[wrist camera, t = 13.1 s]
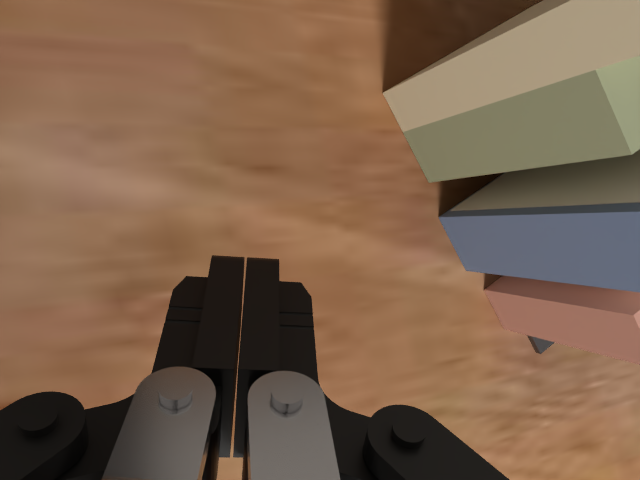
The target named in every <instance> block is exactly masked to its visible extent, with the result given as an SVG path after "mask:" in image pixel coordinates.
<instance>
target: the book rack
mask: <svg viewBox="0 0 640 480" xmlns="http://www.w3.org/2000/svg"><path fill="white" fill-rule="evenodd" d="M383 94H384V96H385V98H386V100H387V102H388V104H389V106H390V108H391V110H392V112H393V114H394V116H395V118H396V120H397V122H398V124H399V126H400V128H401V129H402V131H403V133H404V135H405V137H406V139H407V141H408V143H409V145H410V147H411V149H412V151H413V153H414V155H415V157H416V159H417V161H418V163H419V164H420V166H421V168H422V170H423V172H424V174H425V176H426V178H427V180H428V182H429V183H430V182H437V181H445V180H452V179H459V178H466V177H474V176H481V175H488V174H496V173H503V172H510V171H517V170H525V169H532V168H539V167H546V166H554V165H561V164H568V163H576V162H583V161H590V160H597V159H605V158H612V157H619V156H627V155H632V154H634V153H635V152H637V151H638V150H639V149H640V0H543V1H541V2H539V3H537V4H536V5H534V6H532V7H530V8H528V9H526V10H525V11H523V12H521V13H519V14H518V15H516V16H514V17H512V18H511V19H509V20H507V21H506V22H504V23H502V24H500V25H499V26H497V27H495V28H494V29H492V30H490V31H488V32H487V33H485V34H483V35H481V36H480V37H478V38H476V39H475V40H473V41H471V42H469V43H468V44H466V45H464V46H463V47H461V48H459V49H457V50H456V51H454V52H452V53H450V54H449V55H447V56H445V57H444V58H442V59H440V60H438V61H437V62H435V63H433V64H432V65H430V66H428V67H426V68H425V69H423V70H421V71H419V72H418V73H416V74H414V75H413V76H411V77H409V78H407V79H406V80H404V81H402V82H401V83H399V84H397V85H395V86H394V87H392V88H390V89H388V90H387V91H385V92H383ZM484 291H485V293H486V295H487V297H488V299H489V301H490V303H491V305H492V306H493V308H494V310H495V312H496V314H497V316H498V318H499V320H500V322H501V324H502V326H503V328H504V329H506V330H510V331H513V332H517V333H521V334H525V335H529V336H532V337H536V338H540V339H544V340H548V341H552V342H555V343H559V344H563V345H567V346H571V347H574V348H578V349H582V350H586V351H590V352H593V353H597V354H601V355H605V356H609V357H613V358H616V359H620V360H624V361H628V362H632V363H635V364H639V365H640V292H632V291H624V290H616V289H608V288H600V287H592V286H584V285H576V284H568V283H560V282H552V281H544V280H536V279H528V278H520V277H512V276H504V275H503V276H502V277H500V278H499V279H498V280H496V281H495V282H494V283H492V284H491V285H490V286H488V287H487V288H486V289H484Z"/></svg>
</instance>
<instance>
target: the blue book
mask: <svg viewBox="0 0 640 480" xmlns="http://www.w3.org/2000/svg"><path fill="white" fill-rule="evenodd" d="M439 219H440V221H441V223H442V225H443V227H444V229H445V231H446V233H447V235H448V237H449V239H450V241H451V243H452V245H453V246H454V248H455V250H456V252H457V254H458V256H459V258H460V260H461V262H462V264H463V266H464V268H465V270H466V271H472V272H480V273H488V274H496V275H504V276H512V277H520V278H528V279H536V280H544V281H552V282H560V283H568V284H576V285H584V286H592V287H600V288H608V289H616V290H624V291H632V292H640V149H639V150H638V151H637V152H635V153H634V154H632V155H627V156H619V157H612V158H605V159H597V160H590V161H583V162H576V163H568V164H561V165H554V166H546V167H539V168H532V169H525V170H517V171H510V172H504V173H503V174H501V175H500V176H498V177H497V178H495V179H494V180H492V181H491V182H490V183H488V184H487V185H485V186H484V187H482V188H481V189H479V190H478V191H476V192H475V193H473V194H472V195H470V196H469V197H467V198H466V199H464V200H463V201H462V202H460V203H459V204H457V205H456V206H454V207H453V208H451V209H450V210H448V211H447V212H445V213H444V214H442V215H441V216H439Z"/></svg>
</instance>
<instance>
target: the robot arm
mask: <svg viewBox="0 0 640 480" xmlns="http://www.w3.org/2000/svg"><path fill="white" fill-rule="evenodd" d="M243 276H244V257H231V256H214V255H212V258H211V263H210V269H209V275H208V277H192V276H186V277H185V278H184V279H183V280H182V281H181V282H180V283H179V284H178V285H177V286H176V287H175V288H174V289H173V292H172V296H171V300H170V304H169V309H168V312H167V316H166V320H165V323H164V327H163V331H162V335H161V339H160V343H159V347H158V351H157V354H156V358H155V362H154V366H153V370H152V373H151V374H150V375H149V376H147V377H146V378H145V379H144V380H143V381H142V382H141V383H140V384H139V386H138V387H137V389H136V392H135V394H133V395H132V396H130V397H128V398H126V399H124V400H121V401H119V402H116V403H112V404H108V405H103V406H99V407H94V408H90V409H85V410H84V407H83V406H82V404H81V403H80V402H79V401H78V400H77V399H76V398H74V397H73V396H71V395H68V394H65V393H61V392H41V393H36V394H32V395H29V396H26V397H24V398H21V399H19V400H17V401H15V402H14V403H12V404H10V405H9V406H7V407H5V408H4V409H2V410H0V480H216V478H217V471H218V461H219V457H230V449H231V437H232V425H233V413H234V401H235V389H236V377H237V365H238V353H239V341H240V328H241V312H242V294H243ZM312 315H313V312H312V299H311V296H310V295H309V293H308V292H307V290H306V289H305V288H304V286H303V285H302V283H300V282H282V281H279V259H265V258H249V257H247V267H246V279H245V291H244V304H243V316H242V328H241V341H240V353H239V365H238V381H237V399H236V417H235V435H234V453H233V457H243V470H242V480H509V479H508V478H507V477H505V476H504V475H503V474H502V473H501V472H499V471H498V470H497V469H496V468H494V467H493V466H492V465H491V464H490V463H488V462H487V461H486V460H485V459H483V458H482V457H481V456H480V455H479V454H477V453H476V452H475V451H474V450H472V449H471V448H470V447H469V446H468V445H466V444H465V443H464V442H463V441H461V440H460V439H459V438H458V437H456V436H455V435H454V434H453V433H452V432H450V431H449V430H448V429H447V428H445V427H444V426H443V425H442V424H441V423H439V422H438V421H437V420H436V419H434V418H433V417H432V416H430V415H429V414H428V413H426V412H424V411H422V410H420V409H418V408H415V407H411V406H407V405H391V406H387V407H384V408H382V409H380V410H378V411H377V412H376V413H374V415H373V416H372V417H367V416H364V415H361V414H358V413H354V412H351V411H349V410H346V409H344V408H342V407H340V406H338V405H337V404H335V403H334V402H332V401H331V400H330V399H329V398H328V397H327V396H326V395H325V394H324V392H323V391H322V389H321V387H320V385H319V381H318V373H317V361H316V349H315V336H314V324H313V316H312Z"/></svg>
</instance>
